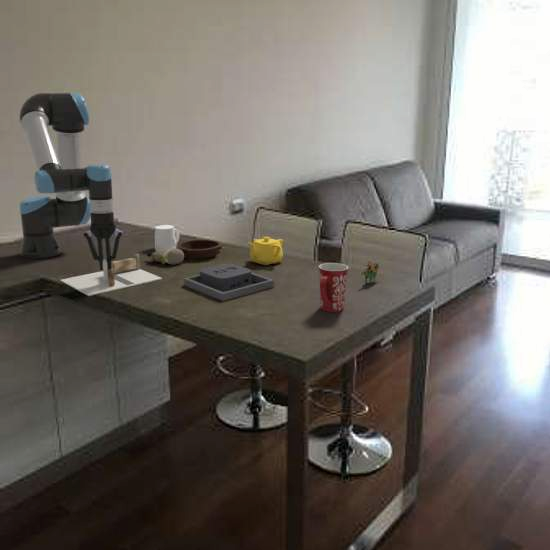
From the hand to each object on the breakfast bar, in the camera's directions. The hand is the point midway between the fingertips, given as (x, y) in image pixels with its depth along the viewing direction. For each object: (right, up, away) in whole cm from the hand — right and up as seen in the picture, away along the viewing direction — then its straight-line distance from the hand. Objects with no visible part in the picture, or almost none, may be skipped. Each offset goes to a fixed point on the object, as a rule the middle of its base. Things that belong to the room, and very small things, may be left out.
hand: (106, 278), depth 209 cm
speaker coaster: (+42, -3, 0) cm, 42 cm away
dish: (+27, +9, +39) cm, 48 cm away
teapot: (+54, +6, +29) cm, 62 cm away
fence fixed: (+2, +2, +14) cm, 15 cm away
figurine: (+91, -2, +4) cm, 91 cm away
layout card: (0, 0, +6) cm, 6 cm away
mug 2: (+75, -10, -22) cm, 79 cm away
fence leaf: (+1, 0, +3) cm, 3 cm away
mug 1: (+12, +13, +50) cm, 53 cm away
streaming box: (+41, -2, +2) cm, 41 cm away
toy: (+16, +6, +29) cm, 34 cm away
